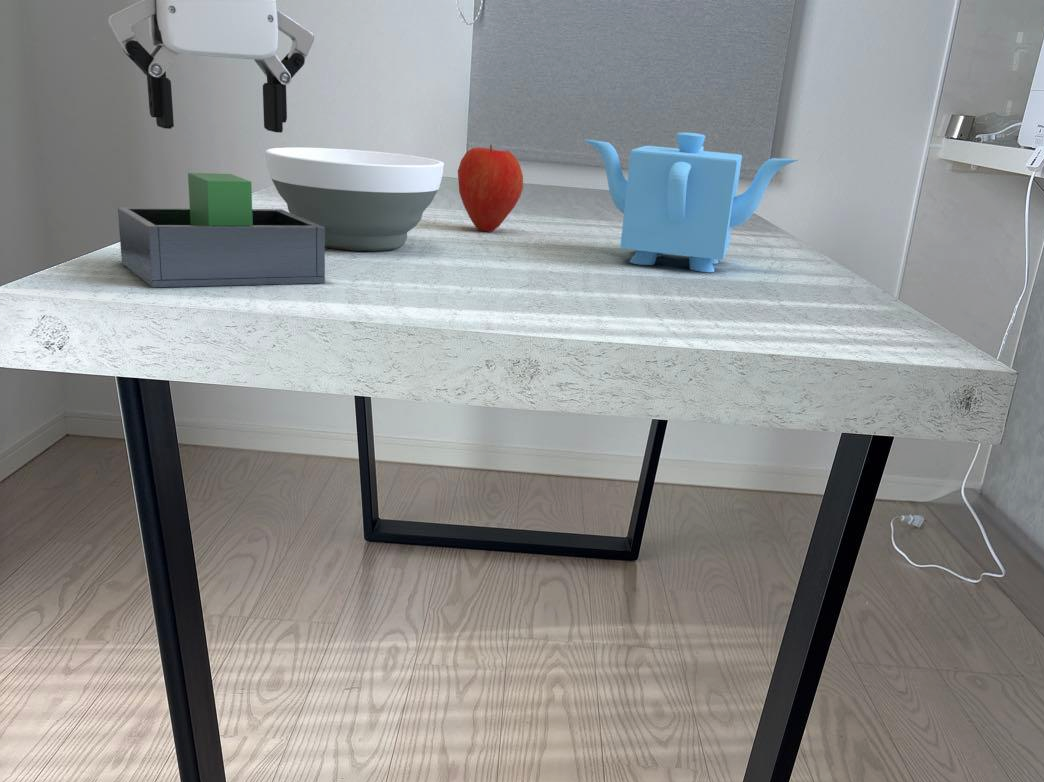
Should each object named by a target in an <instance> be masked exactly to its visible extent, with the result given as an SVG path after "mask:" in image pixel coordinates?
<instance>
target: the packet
mask: <svg viewBox="0 0 1044 782" xmlns="http://www.w3.org/2000/svg"><path fill="white" fill-rule="evenodd" d="M187 180H188V181H187V182H188V184H187V185H188V201H189V208H190V223H191V225H253V220H252V209H253V192H252V191H253V190H252V181H251V180H248V179H245V178H243V177H241V176H237V175H235V174H232V173H214V172H213V173H211V172H210V173H209V172H188V173H187Z"/></svg>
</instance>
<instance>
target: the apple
mask: <svg viewBox="0 0 1044 782" xmlns="http://www.w3.org/2000/svg"><path fill="white" fill-rule="evenodd" d="M457 179H458V180H457V181H458V193H459V197H460V198H461V199H460V200H461V202H462V204H463V206H464V209H465V211H466V213H467V215H468V218H469V219H470V221H471V222H472V224H473V226H474V227H475V228H476V229H477V230H478V231H479V232H488V233H490V232H493V231H495V230H496V229H498V228H499V227H500V226H501V225H502V223H503V222H504V221H505V220H506V219H507V217H508V216H509V215H510V213H511V212H512V211H513V210H514V208H515V206H516V205H517V204H518V202H519V200H520V198H521V195H522V193H523V189H524V174H523V171H522V168H521V164H520V162H519V161H518V158H517V157H516V155H514V154H513V153H512V152H511V151H509V150H497V149H493V145H492V144H490V145H489V148H486V147H472V148H471V149H469V150H468V151H466V152H465V153H464V155H463V157H462V158H461V160H460V162H459V166H458V169H457Z"/></svg>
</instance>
